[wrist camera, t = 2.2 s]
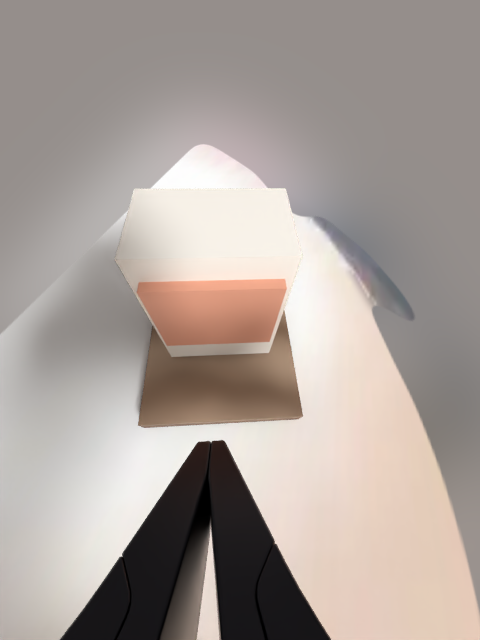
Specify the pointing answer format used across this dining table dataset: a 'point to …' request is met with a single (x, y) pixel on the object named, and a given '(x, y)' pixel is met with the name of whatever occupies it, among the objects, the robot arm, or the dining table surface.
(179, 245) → the block
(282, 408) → the board
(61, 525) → the dining table surface
